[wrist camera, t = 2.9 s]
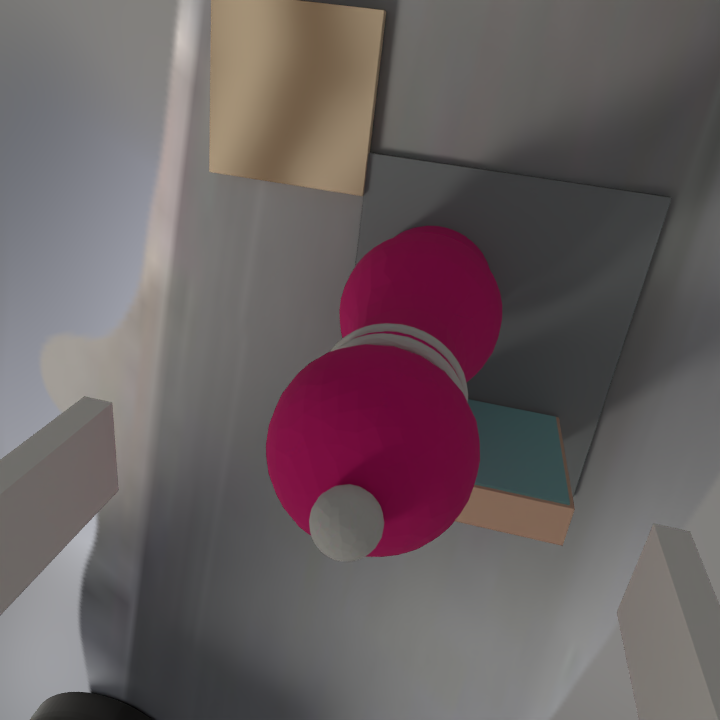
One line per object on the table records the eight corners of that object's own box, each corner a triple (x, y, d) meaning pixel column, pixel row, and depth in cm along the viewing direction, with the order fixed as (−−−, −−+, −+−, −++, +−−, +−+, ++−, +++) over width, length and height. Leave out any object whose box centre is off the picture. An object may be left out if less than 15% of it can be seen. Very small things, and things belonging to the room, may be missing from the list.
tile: (407, 418, 35) (382, 504, 28) (412, 386, 34) (389, 466, 27) (549, 448, 34) (562, 545, 27) (559, 415, 33) (575, 507, 26)
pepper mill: (514, 336, 32) (531, 660, 14) (381, 361, 34) (248, 669, 16) (486, 198, 29) (462, 376, 11) (344, 234, 31) (138, 431, 14)
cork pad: (214, 170, 32) (209, 171, 31) (216, -8, 28) (211, -10, 28) (365, 194, 31) (362, 196, 30) (386, 11, 27) (384, 10, 27)
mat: (335, 445, 37) (334, 448, 37) (369, 152, 30) (368, 152, 30) (571, 496, 35) (572, 500, 35) (670, 197, 28) (671, 198, 28)
